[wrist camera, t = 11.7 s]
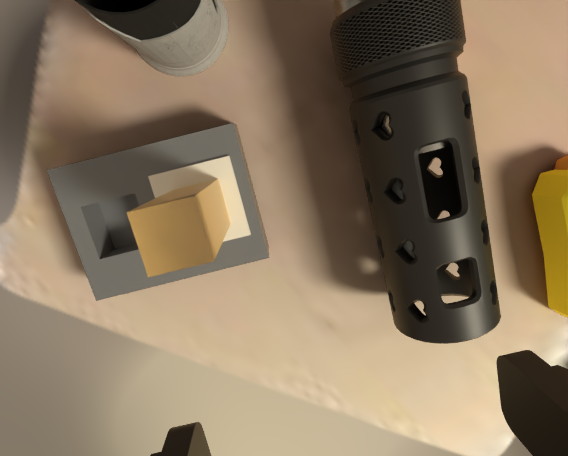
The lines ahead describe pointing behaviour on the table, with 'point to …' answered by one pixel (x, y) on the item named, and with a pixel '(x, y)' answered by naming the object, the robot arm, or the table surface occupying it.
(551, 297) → the yellow banana
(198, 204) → the plug
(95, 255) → the block
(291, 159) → the table surface
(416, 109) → the muzzle brake
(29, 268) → the table surface
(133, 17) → the white pitcher
